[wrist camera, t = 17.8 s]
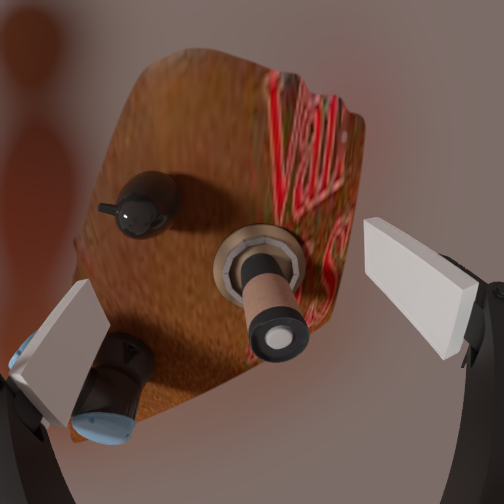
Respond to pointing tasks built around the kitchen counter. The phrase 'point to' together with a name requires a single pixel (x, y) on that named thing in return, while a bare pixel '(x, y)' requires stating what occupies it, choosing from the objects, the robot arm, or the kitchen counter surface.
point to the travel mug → (271, 311)
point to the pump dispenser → (146, 205)
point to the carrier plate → (253, 242)
